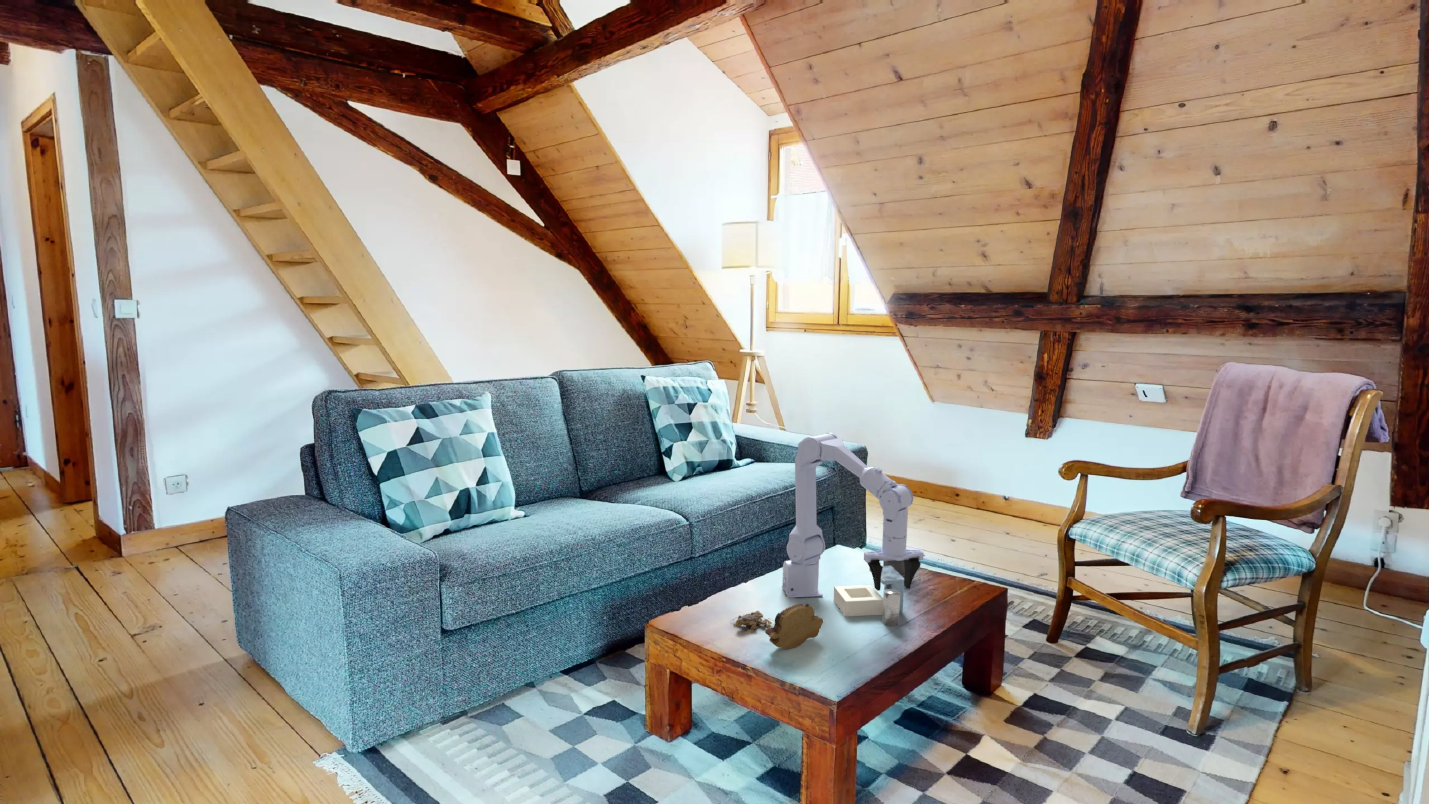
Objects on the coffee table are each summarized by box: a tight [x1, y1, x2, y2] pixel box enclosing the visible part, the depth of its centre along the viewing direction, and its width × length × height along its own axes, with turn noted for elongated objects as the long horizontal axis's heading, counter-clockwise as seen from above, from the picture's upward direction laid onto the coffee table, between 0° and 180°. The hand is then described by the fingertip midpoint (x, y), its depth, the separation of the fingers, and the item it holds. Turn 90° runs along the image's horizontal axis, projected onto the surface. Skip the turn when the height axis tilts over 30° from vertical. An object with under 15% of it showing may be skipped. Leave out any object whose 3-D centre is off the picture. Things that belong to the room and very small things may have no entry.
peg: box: [881, 589, 900, 627], centre depth 199 cm, size 4×4×8 cm
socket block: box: [833, 584, 883, 617], centre depth 209 cm, size 10×10×4 cm
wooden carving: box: [764, 603, 824, 650], centre depth 186 cm, size 16×5×10 cm, turn 131°
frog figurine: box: [730, 610, 775, 634], centre depth 198 cm, size 12×12×4 cm
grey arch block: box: [869, 565, 905, 614], centre depth 209 cm, size 6×10×9 cm, turn 9°
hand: (892, 588), depth 199 cm, fingers open, 7 cm apart
